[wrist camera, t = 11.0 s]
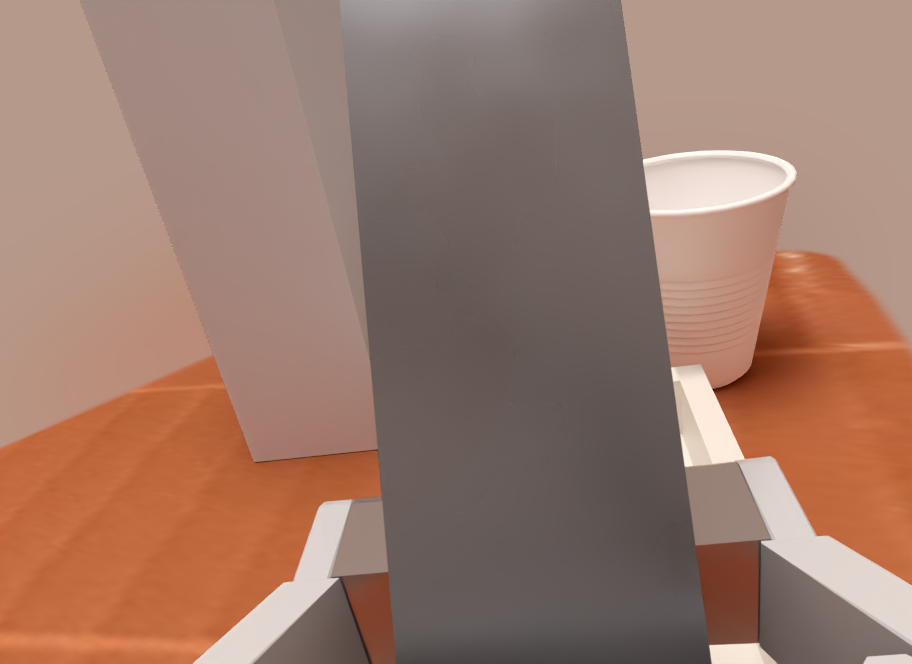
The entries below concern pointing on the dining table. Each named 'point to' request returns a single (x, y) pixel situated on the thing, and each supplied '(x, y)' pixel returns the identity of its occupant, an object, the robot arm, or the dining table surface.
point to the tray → (703, 445)
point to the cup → (715, 252)
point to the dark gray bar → (517, 338)
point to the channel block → (255, 201)
